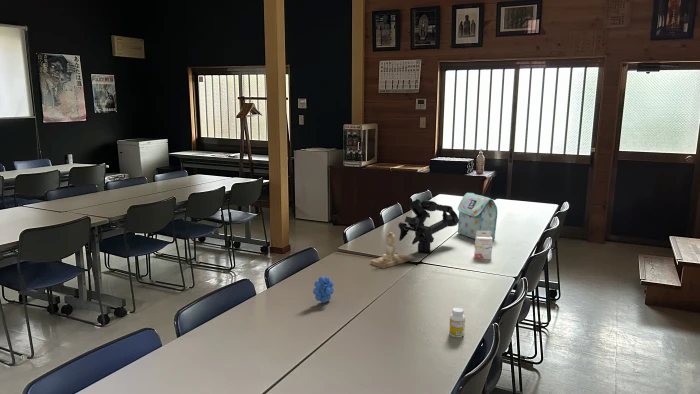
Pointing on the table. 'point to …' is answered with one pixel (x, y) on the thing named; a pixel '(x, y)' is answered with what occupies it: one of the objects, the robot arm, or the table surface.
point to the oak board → (387, 263)
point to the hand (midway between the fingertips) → (406, 242)
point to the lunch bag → (477, 215)
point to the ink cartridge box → (483, 245)
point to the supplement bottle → (457, 323)
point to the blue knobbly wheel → (323, 289)
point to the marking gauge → (390, 247)
